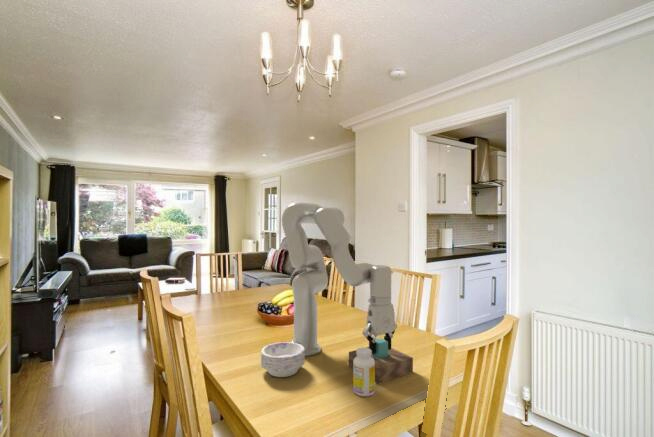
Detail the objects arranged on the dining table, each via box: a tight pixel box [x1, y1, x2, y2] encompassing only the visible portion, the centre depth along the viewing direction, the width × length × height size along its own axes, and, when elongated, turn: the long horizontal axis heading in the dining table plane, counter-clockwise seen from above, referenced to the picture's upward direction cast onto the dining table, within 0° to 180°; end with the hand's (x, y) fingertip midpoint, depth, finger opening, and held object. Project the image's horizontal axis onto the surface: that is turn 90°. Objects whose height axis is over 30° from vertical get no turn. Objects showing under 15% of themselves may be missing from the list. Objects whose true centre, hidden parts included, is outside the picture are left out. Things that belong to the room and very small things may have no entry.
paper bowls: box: [260, 341, 306, 378], centre depth 116 cm, size 15×15×8 cm
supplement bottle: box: [352, 347, 376, 397], centre depth 102 cm, size 7×7×13 cm
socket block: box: [348, 346, 414, 385], centre depth 118 cm, size 16×16×5 cm
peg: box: [372, 337, 388, 359], centre depth 118 cm, size 4×4×10 cm
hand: (380, 350), depth 118 cm, fingers open, 6 cm apart
